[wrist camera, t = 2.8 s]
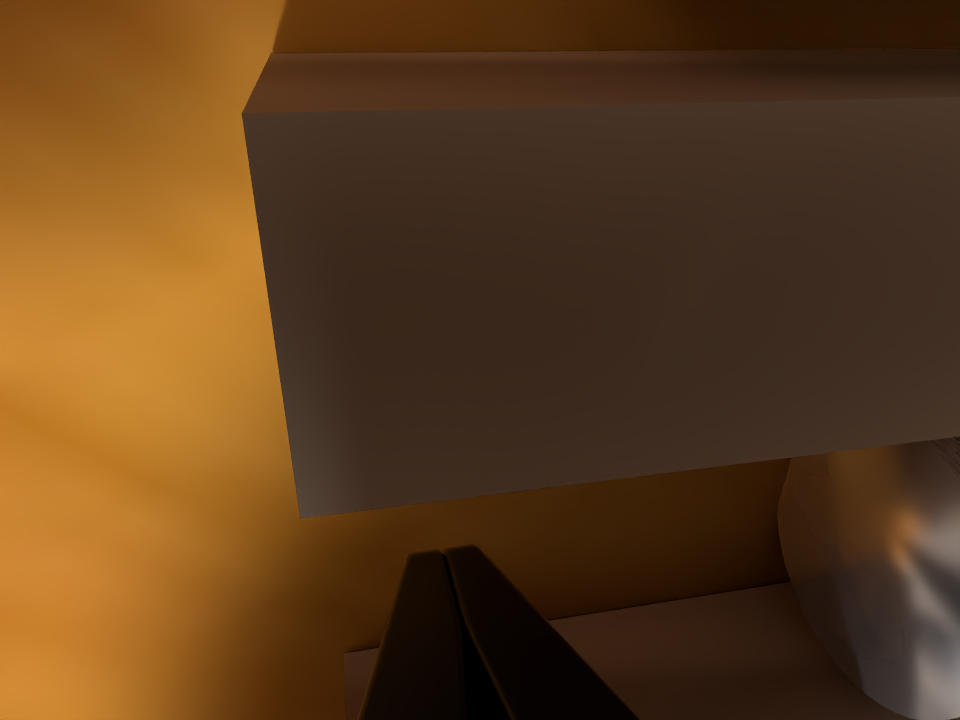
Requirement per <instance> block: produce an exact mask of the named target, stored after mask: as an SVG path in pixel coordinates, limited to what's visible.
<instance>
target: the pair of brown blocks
mask: <svg viewBox="0 0 960 720" xmlns="http://www.w3.org/2000/svg"><path fill="white" fill-rule="evenodd" d="M242 118H243V125H244V132H245V139H246V146H247V153H248V160H249V167H250V173H251V180H252V187H253V194H254V201H255V208H256V215H257V222H258V229H259V236H260V243H261V250H262V257H263V263H264V270H265V277H266V284H267V291H268V298H269V305H270V312H271V319H272V326H273V333H274V340H275V346H276V353H277V360H278V367H279V374H280V381H281V388H282V395H283V402H284V409H285V416H286V423H287V429H288V436H289V443H290V450H291V457H292V464H293V471H294V478H295V485H296V492H297V499H298V506H299V512H300V519H301V518H309V517H317V516H325V515H333V514H341V513H349V512H357V511H365V510H373V509H381V508H389V507H397V506H405V505H413V504H421V503H429V502H437V501H445V500H453V499H462V498H470V497H478V496H486V495H494V494H502V493H510V492H518V491H526V490H534V489H542V488H550V487H558V486H566V485H574V484H582V483H590V482H598V481H606V480H614V479H622V478H630V477H638V476H646V475H654V474H662V473H670V472H678V471H686V470H694V469H703V468H711V467H719V466H727V465H735V464H743V463H751V462H759V461H767V460H775V459H783V458H791V457H799V456H807V455H815V454H823V453H831V452H839V451H847V450H855V449H863V448H871V447H879V446H887V445H895V444H903V443H911V442H919V441H927V440H935V439H943V438H952V437H960V48H892V49H767V50H641V51H516V52H391V53H271V54H270V56H269V58H268V61H267V63H266V65H265V67H264V69H263V71H262V73H261V75H260V77H259V79H258V81H257V83H256V85H255V87H254V89H253V91H252V94H251V96H250V98H249V100H248V102H247V104H246V106H245V108H244V110H243V112H242ZM548 622H549V623H550V624H551V625H552V626H553V627H554V628H555V629H556V630H557V631H558V632H559V633H560V634H561V635H562V636H563V637H564V639H565V640H566V641H567V642H568V643H569V644H570V645H571V646H572V647H573V648H574V649H575V650H576V651H577V652H578V653H579V655H580V656H581V657H582V658H583V659H584V660H585V661H586V662H587V663H588V664H589V665H590V666H591V667H592V668H593V669H594V670H595V672H596V673H597V674H598V675H599V676H600V677H601V678H602V679H603V680H604V681H605V682H606V683H607V684H608V685H609V686H610V687H611V689H612V690H613V691H614V692H615V693H616V694H617V695H618V696H619V697H620V698H621V699H622V700H623V701H624V702H625V703H626V705H627V706H628V707H629V708H630V709H631V710H632V711H633V712H634V713H635V714H636V715H637V716H638V717H639V718H640V719H641V720H916V719H911V718H908V717H905V716H903V715H900V714H897V713H895V712H893V711H891V710H889V709H887V708H886V707H884V706H882V705H880V704H879V703H877V702H876V701H875V700H873V699H872V698H870V697H869V696H868V695H866V694H865V693H864V692H863V691H862V690H860V689H859V688H858V687H857V686H856V685H855V684H854V683H853V682H852V681H851V680H850V679H849V678H848V677H847V676H846V675H845V674H844V673H843V672H842V671H841V670H840V669H839V667H838V666H837V665H836V664H835V662H834V661H833V660H832V658H831V657H830V656H829V655H828V653H827V652H826V650H825V649H824V647H823V646H822V644H821V643H820V642H819V640H818V638H817V637H816V635H815V633H814V632H813V630H812V628H811V626H810V625H809V623H808V621H807V619H806V617H805V615H804V613H803V611H802V609H801V607H800V604H799V602H798V600H797V597H796V595H795V592H794V590H793V587H792V584H791V582H787V583H781V584H775V585H769V586H762V587H756V588H750V589H744V590H737V591H731V592H725V593H719V594H712V595H706V596H700V597H694V598H687V599H681V600H675V601H669V602H662V603H656V604H650V605H644V606H637V607H631V608H625V609H619V610H612V611H606V612H600V613H594V614H587V615H581V616H575V617H569V618H562V619H556V620H550V621H548ZM378 650H379V648H375V649H369V650H362V651H356V652H350V653H344V654H343V657H344V680H345V703H346V720H357V718H358V715H359V712H360V708H361V705H362V702H363V699H364V695H365V692H366V689H367V686H368V682H369V679H370V676H371V673H372V669H373V666H374V663H375V660H376V656H377V653H378ZM948 720H960V717H958V718H953V719H948Z"/></svg>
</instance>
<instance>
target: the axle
mask: <svg viewBox="0 0 960 720" xmlns="http://www.w3.org/2000/svg"><path fill="white" fill-rule="evenodd" d="M777 517H778V529H779V537H780V543H781V548H782V553H783V557H784V561H785V565H786V568H787V572H788V575H789V578H790V581H791V584H792V587H793V590H794V592H795V595H796V597H797V600H798V602H799V604H800V607H801V609H802V611H803V613H804V615H805V617H806V619H807V621H808V623H809V625H810V626H811V628H812V630H813V632H814V633H815V635H816V637H817V638H818V640H819V642H820V643H821V644H822V646H823V647H824V649H825V650H826V652H827V653H828V655H829V656H830V657H831V658H832V660H833V661H834V662H835V664H836V665H837V666H838V667H839V669H840V670H841V671H842V672H843V673H844V674H845V675H846V676H847V677H848V678H849V679H850V680H851V681H852V682H853V683H854V684H855V685H856V686H857V687H858V688H859V689H860V690H862V691H863V692H864V693H865V694H866V695H868V696H869V697H870V698H872V699H873V700H875V701H876V702H877V703H879V704H880V705H882V706H884V707H886V708H887V709H889V710H891V711H893V712H895V713H897V714H900V715H903V716H905V717H908V718H911V719H916V720H948V719H953V718H958V717H960V437H952V438H943V439H935V440H927V441H919V442H911V443H903V444H895V445H887V446H879V447H871V448H863V449H855V450H847V451H839V452H831V453H823V454H815V455H807V456H799V457H791V461H790V465H789V468H788V472H787V475H786V479H785V483H784V486H783V490H782V493H781V497H780V501H779V504H778V508H777Z"/></svg>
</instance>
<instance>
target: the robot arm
mask: <svg viewBox="0 0 960 720" xmlns="http://www.w3.org/2000/svg"><path fill="white" fill-rule="evenodd" d="M357 720H641V719H640V718H639V717H638V716H637V715H636V714H635V713H634V712H633V711H632V710H631V709H630V708H629V707H628V706H627V705H626V703H625V702H624V701H623V700H622V699H621V698H620V697H619V696H618V695H617V694H616V693H615V692H614V691H613V690H612V689H611V687H610V686H609V685H608V684H607V683H606V682H605V681H604V680H603V679H602V678H601V677H600V676H599V675H598V674H597V673H596V672H595V670H594V669H593V668H592V667H591V666H590V665H589V664H588V663H587V662H586V661H585V660H584V659H583V658H582V657H581V656H580V655H579V653H578V652H577V651H576V650H575V649H574V648H573V647H572V646H571V645H570V644H569V643H568V642H567V641H566V640H565V639H564V637H563V636H562V635H561V634H560V633H559V632H558V631H557V630H556V629H555V628H554V627H553V626H552V625H551V624H550V623H549V622H548V620H547V619H546V618H545V617H544V616H543V615H542V614H541V613H540V612H539V611H538V610H537V609H536V608H535V607H534V606H533V604H532V603H531V602H530V601H529V600H528V599H527V598H526V597H525V596H524V595H523V594H522V593H521V592H520V591H519V590H518V589H517V587H516V586H515V585H514V584H513V583H512V582H511V581H510V580H509V579H508V578H507V577H506V576H505V575H504V574H503V573H502V572H501V570H500V569H499V568H498V567H497V566H496V565H495V564H494V563H493V562H492V561H491V560H490V559H489V558H488V557H487V556H486V554H485V553H484V552H483V551H482V550H481V549H480V548H479V547H478V546H476V545H473V544H470V545H463V546H456V547H449V548H446V549H445V550H444V551H443V554H442V552H441V551H440V550H438V549H434V550H427V551H420V552H413V553H410V554H409V555H408V557H407V559H406V562H405V565H404V568H403V571H402V575H401V578H400V581H399V585H398V588H397V591H396V594H395V598H394V601H393V604H392V607H391V611H390V614H389V617H388V620H387V624H386V627H385V630H384V633H383V637H382V640H381V643H380V646H379V650H378V653H377V656H376V660H375V663H374V666H373V669H372V673H371V676H370V679H369V682H368V686H367V689H366V692H365V695H364V699H363V702H362V705H361V708H360V712H359V715H358V718H357Z"/></svg>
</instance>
